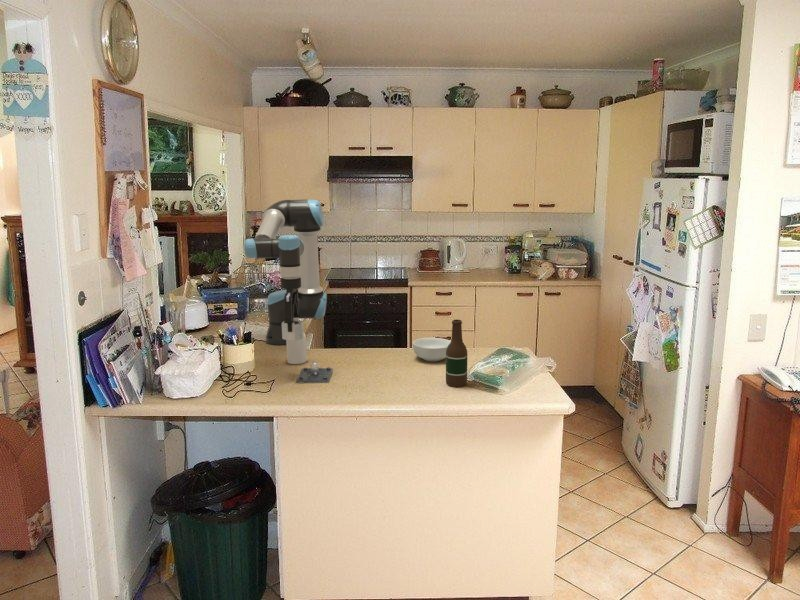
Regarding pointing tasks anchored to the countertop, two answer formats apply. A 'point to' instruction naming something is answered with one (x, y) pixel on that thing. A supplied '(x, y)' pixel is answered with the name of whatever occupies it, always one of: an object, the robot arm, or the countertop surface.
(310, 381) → the shaft stand
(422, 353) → the cereal bowl
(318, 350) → the countertop surface
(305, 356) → the pill bottle
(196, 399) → the countertop surface
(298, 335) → the hub
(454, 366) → the beer bottle
